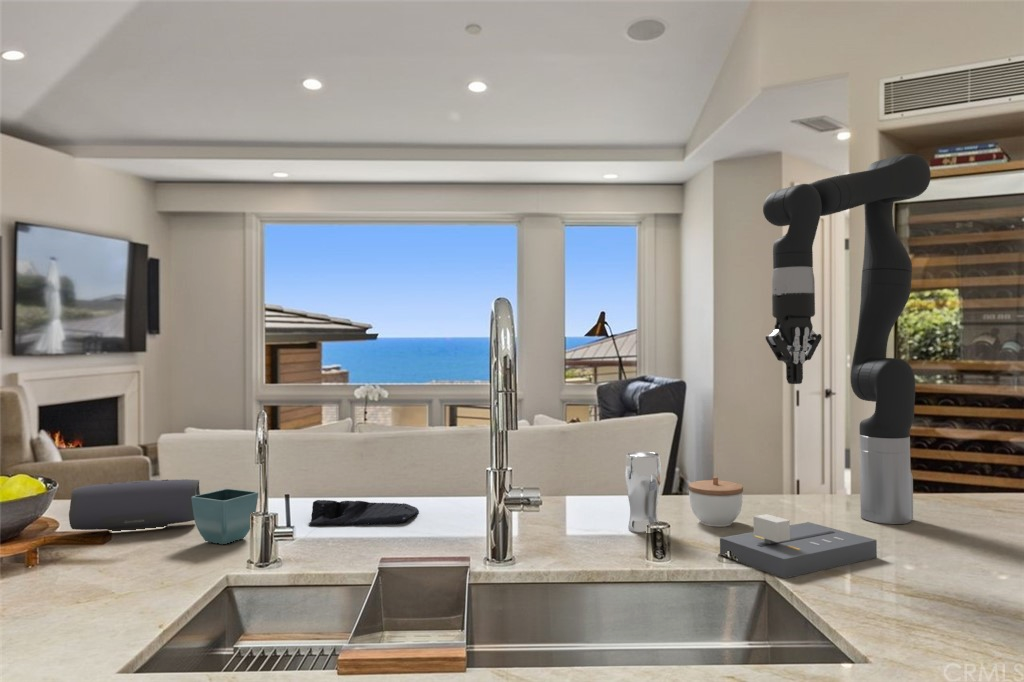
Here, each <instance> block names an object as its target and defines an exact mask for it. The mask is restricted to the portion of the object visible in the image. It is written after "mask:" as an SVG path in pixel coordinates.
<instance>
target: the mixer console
mask: <svg viewBox="0 0 1024 682" xmlns="http://www.w3.org/2000/svg"><path fill="white" fill-rule="evenodd" d="M877 543H878V542H877V539H874V538H870V537H867V536H864V535H860V534H855V533H851V532H848V531H843V530H840V529H836V528H834V527H833V528H832V527H830V526H825V525H822V524H818V523H813V522H810V521H807V522H801V523H796V524H790V540H785V541H780V542H777V543H771V544H769V543H766V542H765V539H764V538H762V537H759V536H755V535H754V531H751V532H745V533H741V534H739V533H738V534H735V535H728V536H723V537H719V555H720V554H725V553H727V551H731V552H732V553H734V555H735V556H736V558H737V559H738V561H739V562H738V561H737V562H738V563H740V562H741V563H740V564H743V565H747V566H749V567H752V568H754V569H758V570H760V571H763V572H766V573H768V574H771V575H773V576H777V577H779V578H783V579H786V578H787V579H788V578H791V577H797V576H801V575H806V574H810V573H814V572H817V571H823V570H829V569H832V568H837V567H840V566H845V565H850V564H854V563H857V562H858V563H859V562H862V561H867V560H872V559H876V558H877V557H878V555H877V554H878V553H877V552H878V551H877V550H878V549H877V545H878V544H877Z"/></svg>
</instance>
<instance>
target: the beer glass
mask: <svg viewBox="0 0 1024 682" xmlns="http://www.w3.org/2000/svg"><path fill="white" fill-rule="evenodd" d="M624 475H625V485H626V492H627V498H628V503H629V504H628V505H629V521H628V526H627V527H628V528H627V529H628V531H630V532H631V533H635V534H645V533H646V527H647V524H649V523H651V522H658V523H659V518H658V517H659V516H658V506H659V499H660V493H661V487H662V465H661V455H660V453H658V452H655V451H629V452H627V453H626V456H625V474H624ZM645 535H646V534H645Z"/></svg>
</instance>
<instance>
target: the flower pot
mask: <svg viewBox="0 0 1024 682" xmlns="http://www.w3.org/2000/svg"><path fill="white" fill-rule="evenodd" d="M258 498H259V492H258V491H251V490H243V489H233V488H224V489H219V490H215V491H211V492H206V493H200V495H197V496H193V497H191V499H192V506H193V513H194V520H193V521H194V523H195V526H196V528H197V531H198V533H199V534H200V536H201V537H202V539H203V540H204V541H205V542H206V541H208V542H207V543H211V542H213V543H214V544H217V543H219V544H218V545H223V544H226V545H228V544H227V543H229V544H231V543H230V542H232V543H234V542H236V541H235V540H238V539H241V538H244V537H245V538H246V537H247V534H248V533H249V532H250V530H251V528H250V514H251V513H253V512H257V505H258ZM245 538H244V539H245ZM241 540H242V539H241ZM233 541H234V542H233ZM238 541H239V540H238Z"/></svg>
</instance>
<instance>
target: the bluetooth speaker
mask: <svg viewBox="0 0 1024 682" xmlns="http://www.w3.org/2000/svg"><path fill="white" fill-rule="evenodd" d="M197 495H201V491H200V479H183V478H181V479H157V480H155V479H153V480H152V479H151V480H133V481H132V480H131V481H121V482H120V481H119V482H109V483H101V484H91V485H83V486H80V487H79V486H78V487H75V488H73V490H71V494H70V504H69V511H68V521H69V526H70V528H71V529H72V530H76V531H77V530H79V531H80V530H84V531H90V530H92V531H95V530H101V531H102V530H107V531H108V530H112V531H121V530H136V529H145V528H156V527H164V526H167V527H168V525H174V524H179V523H181V524H182V523H188V522H193V521H195V520H194V513H193V506H192V499H191V497H193V496H197Z"/></svg>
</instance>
